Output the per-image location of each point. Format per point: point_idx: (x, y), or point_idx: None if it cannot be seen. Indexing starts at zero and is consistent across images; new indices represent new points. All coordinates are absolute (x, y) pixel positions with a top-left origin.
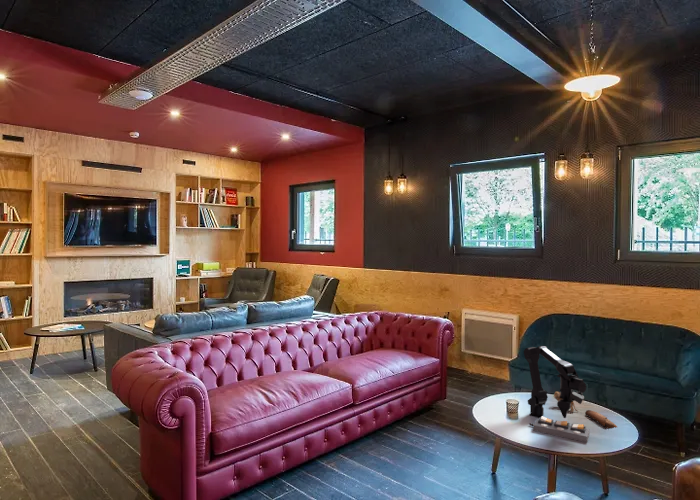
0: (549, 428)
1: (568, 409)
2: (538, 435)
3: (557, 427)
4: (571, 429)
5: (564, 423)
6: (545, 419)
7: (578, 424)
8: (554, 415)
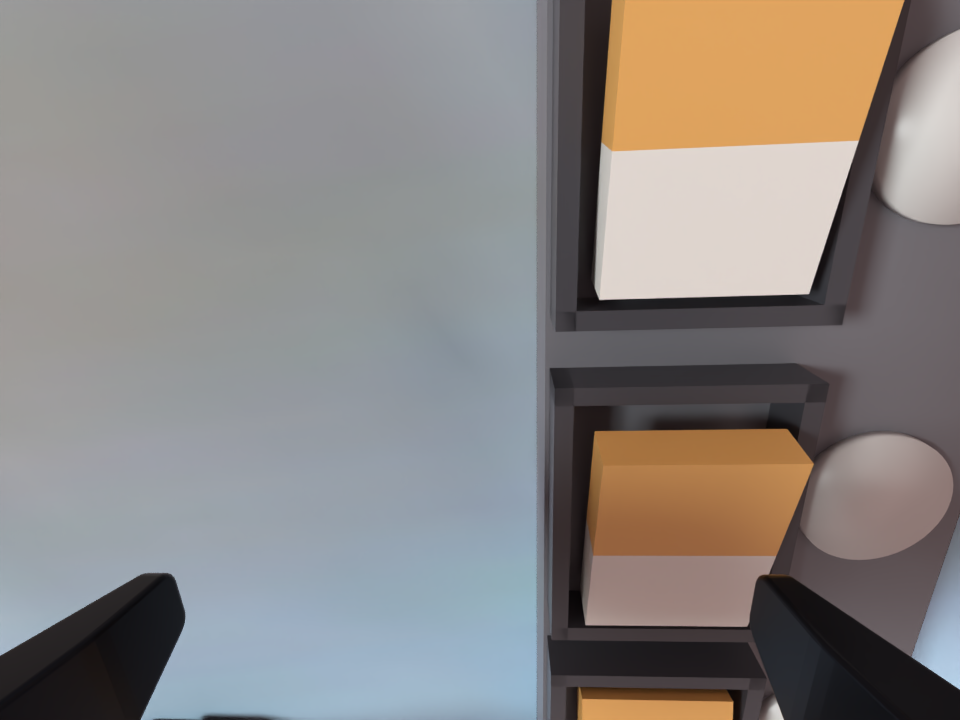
0: (913, 648)
1: (79, 668)
2: (956, 670)
3: (833, 552)
4: (812, 288)
5: (795, 494)
6: None
7: (618, 145)
8: (55, 609)
